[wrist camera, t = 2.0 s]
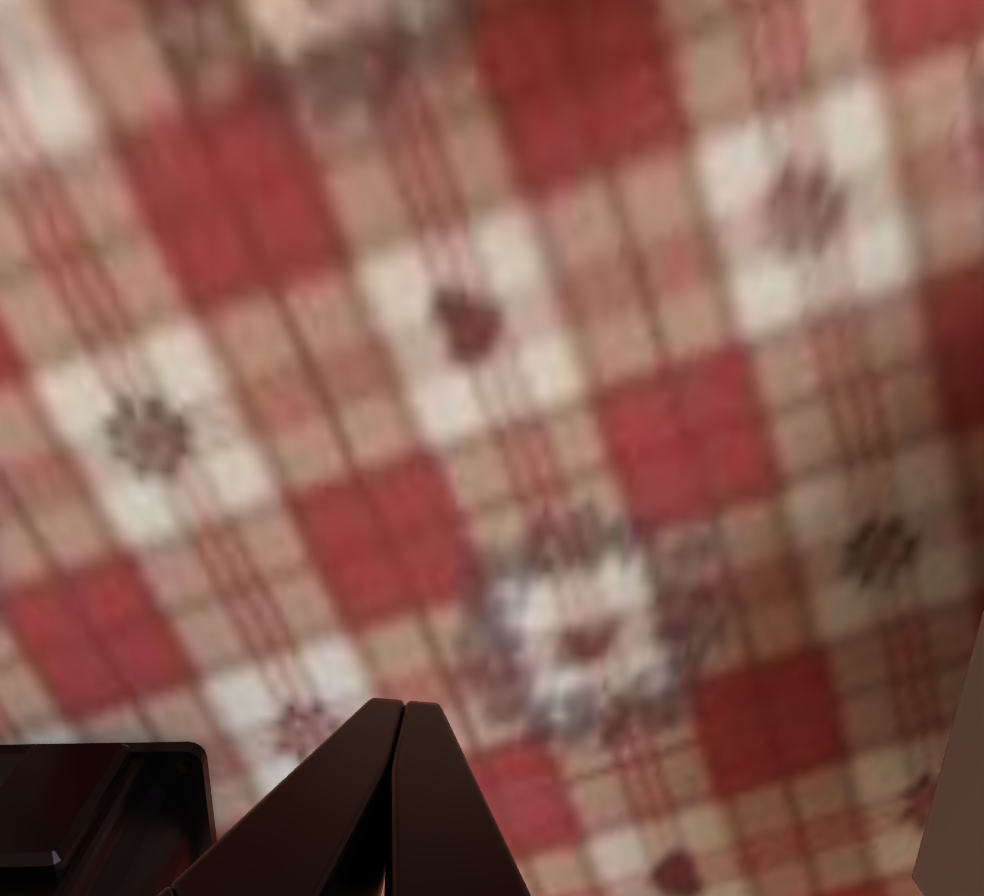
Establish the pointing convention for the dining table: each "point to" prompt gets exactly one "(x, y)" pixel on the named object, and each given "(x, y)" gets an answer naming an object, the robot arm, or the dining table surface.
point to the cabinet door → (958, 798)
